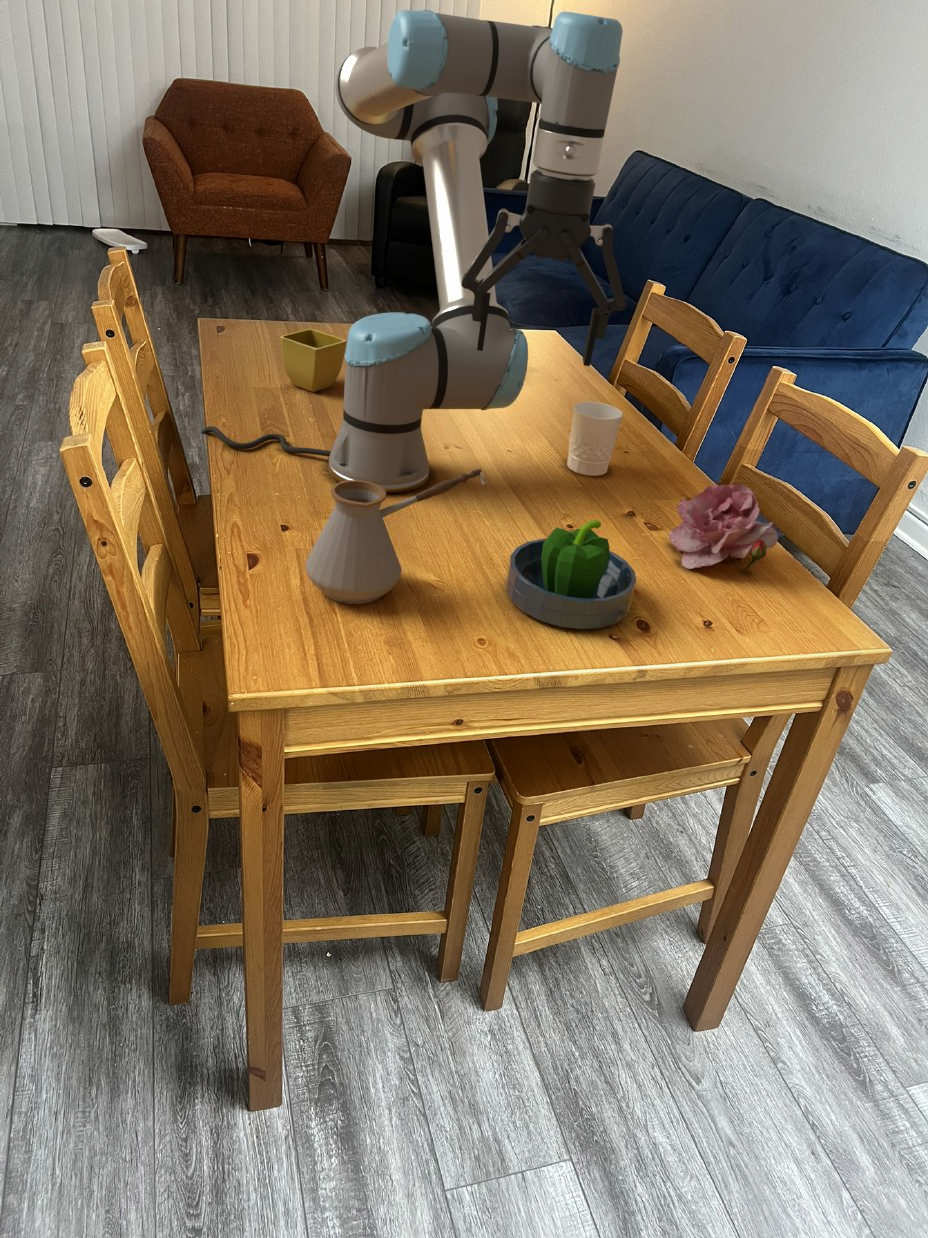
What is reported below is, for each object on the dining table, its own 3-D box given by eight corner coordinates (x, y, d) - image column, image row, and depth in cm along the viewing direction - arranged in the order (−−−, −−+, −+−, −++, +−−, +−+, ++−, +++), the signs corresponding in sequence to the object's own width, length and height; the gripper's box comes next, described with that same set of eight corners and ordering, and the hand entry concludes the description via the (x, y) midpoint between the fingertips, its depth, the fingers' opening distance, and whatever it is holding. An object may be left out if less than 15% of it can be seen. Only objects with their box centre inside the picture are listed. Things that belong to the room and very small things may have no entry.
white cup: (608, 481, 152) (621, 422, 147) (560, 472, 153) (571, 413, 148) (611, 463, 159) (623, 406, 154) (565, 455, 160) (576, 398, 154)
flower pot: (345, 387, 175) (348, 339, 171) (315, 398, 169) (317, 348, 164) (309, 375, 179) (310, 327, 174) (278, 385, 172) (278, 336, 168)
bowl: (504, 623, 112) (509, 591, 109) (506, 561, 125) (511, 531, 123) (634, 640, 112) (642, 608, 110) (622, 576, 125) (629, 546, 123)
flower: (698, 504, 141) (713, 452, 133) (785, 552, 135) (806, 501, 127) (641, 556, 134) (654, 505, 126) (731, 610, 127) (750, 559, 120)
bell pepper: (545, 613, 114) (559, 539, 108) (528, 578, 120) (540, 507, 115) (610, 612, 116) (627, 540, 110) (589, 578, 122) (604, 508, 117)
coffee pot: (316, 617, 108) (321, 498, 100) (295, 568, 117) (298, 455, 109) (487, 600, 116) (504, 489, 108) (455, 555, 125) (469, 449, 117)
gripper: (453, 162, 104) (433, 350, 116) (675, 194, 105) (633, 378, 117) (458, 152, 111) (438, 332, 122) (667, 183, 111) (627, 359, 123)
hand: (533, 355), depth 120 cm, fingers open, 13 cm apart
